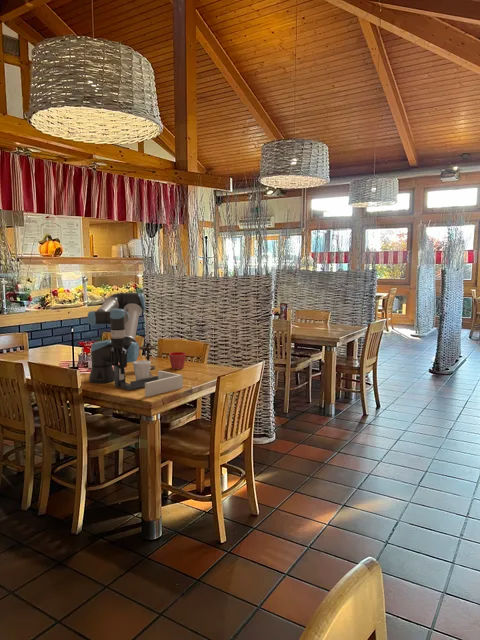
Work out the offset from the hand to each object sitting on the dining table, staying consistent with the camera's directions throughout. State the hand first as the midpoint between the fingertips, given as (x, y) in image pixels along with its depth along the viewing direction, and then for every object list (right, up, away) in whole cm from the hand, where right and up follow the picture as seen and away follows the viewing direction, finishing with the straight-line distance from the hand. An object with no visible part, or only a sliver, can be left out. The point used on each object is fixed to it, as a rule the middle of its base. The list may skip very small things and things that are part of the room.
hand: (119, 379), depth 263 cm
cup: (+12, -4, +5) cm, 13 cm away
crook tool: (+9, -4, +3) cm, 10 cm away
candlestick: (+7, +1, +48) cm, 48 cm away
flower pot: (+26, +1, +50) cm, 56 cm away
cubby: (+20, -5, -5) cm, 21 cm away
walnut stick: (+14, -3, +17) cm, 22 cm away
